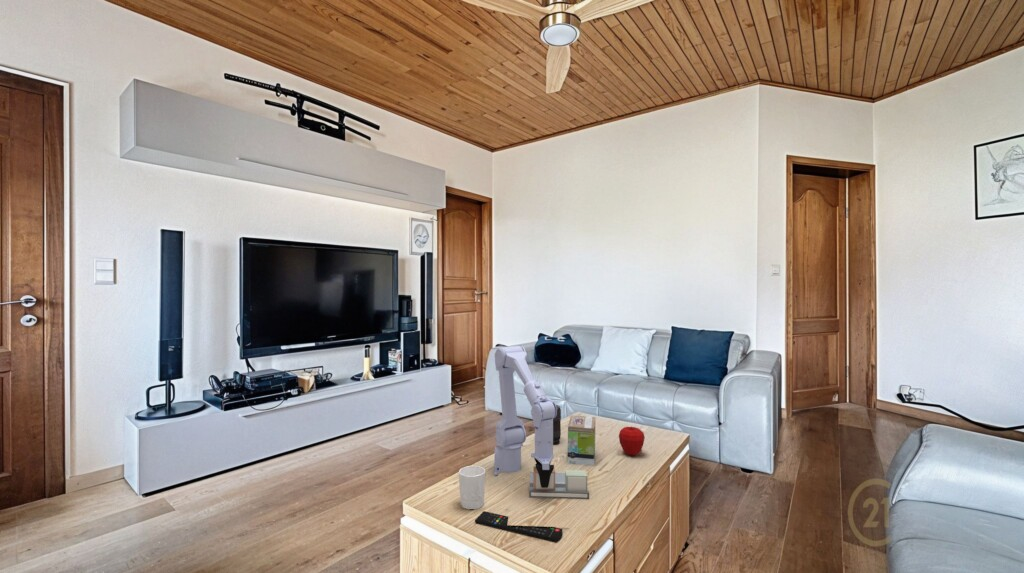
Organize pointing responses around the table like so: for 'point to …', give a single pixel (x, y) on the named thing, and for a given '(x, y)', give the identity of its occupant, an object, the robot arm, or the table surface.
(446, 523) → the table surface
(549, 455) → the robot arm
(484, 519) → the remote control
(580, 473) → the sage carton
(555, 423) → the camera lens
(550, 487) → the terracotta carton
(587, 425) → the tea box
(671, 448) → the table surface
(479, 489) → the white cup
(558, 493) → the shelf board
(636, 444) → the apple
